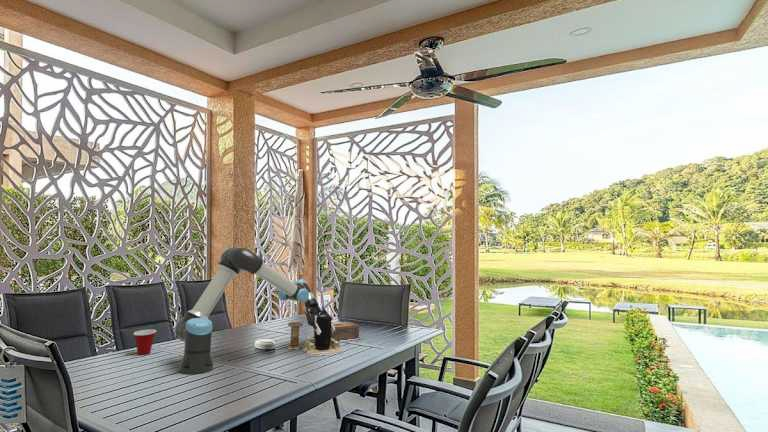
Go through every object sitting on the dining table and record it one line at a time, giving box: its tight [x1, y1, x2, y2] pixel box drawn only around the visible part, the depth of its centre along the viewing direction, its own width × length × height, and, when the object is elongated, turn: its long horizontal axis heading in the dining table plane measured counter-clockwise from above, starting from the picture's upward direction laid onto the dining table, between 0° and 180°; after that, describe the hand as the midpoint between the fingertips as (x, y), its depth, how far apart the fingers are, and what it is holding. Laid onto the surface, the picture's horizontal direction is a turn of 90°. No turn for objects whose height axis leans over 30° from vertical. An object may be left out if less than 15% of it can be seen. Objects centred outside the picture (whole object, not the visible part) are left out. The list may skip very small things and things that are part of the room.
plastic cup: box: [133, 328, 157, 356], centre depth 224 cm, size 11×11×12 cm
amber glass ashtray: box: [301, 338, 344, 355], centre depth 240 cm, size 18×19×6 cm
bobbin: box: [286, 321, 304, 350], centre depth 247 cm, size 8×8×14 cm
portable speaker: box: [315, 313, 332, 350], centre depth 240 cm, size 9×9×20 cm
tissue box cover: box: [313, 321, 360, 341], centre depth 272 cm, size 26×14×10 cm, turn 124°
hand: (326, 332), depth 238 cm, fingers open, 10 cm apart
